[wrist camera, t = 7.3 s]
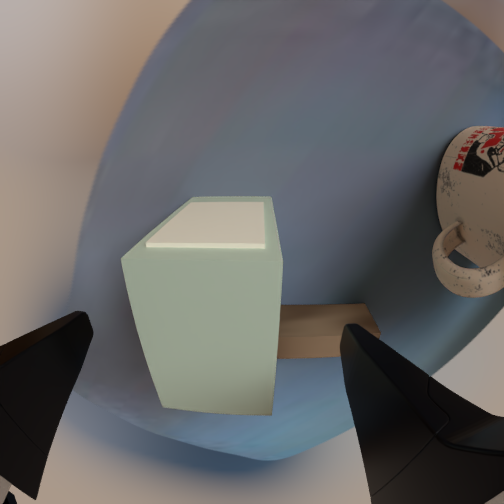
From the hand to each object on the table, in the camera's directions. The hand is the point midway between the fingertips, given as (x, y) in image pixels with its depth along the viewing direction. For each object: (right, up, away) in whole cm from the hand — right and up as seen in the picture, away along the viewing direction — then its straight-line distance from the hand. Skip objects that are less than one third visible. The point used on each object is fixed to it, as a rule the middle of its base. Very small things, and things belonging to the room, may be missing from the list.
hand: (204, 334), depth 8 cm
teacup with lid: (+15, +6, +5) cm, 17 cm away
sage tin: (0, +3, +6) cm, 7 cm away
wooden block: (+2, -1, +8) cm, 8 cm away
